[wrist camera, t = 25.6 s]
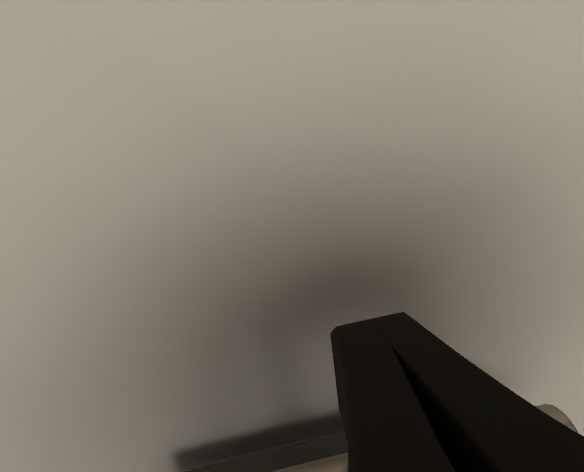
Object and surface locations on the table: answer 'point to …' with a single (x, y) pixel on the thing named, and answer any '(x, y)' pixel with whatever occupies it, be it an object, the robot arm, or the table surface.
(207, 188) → the table surface
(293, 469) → the drawer
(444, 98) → the table surface
